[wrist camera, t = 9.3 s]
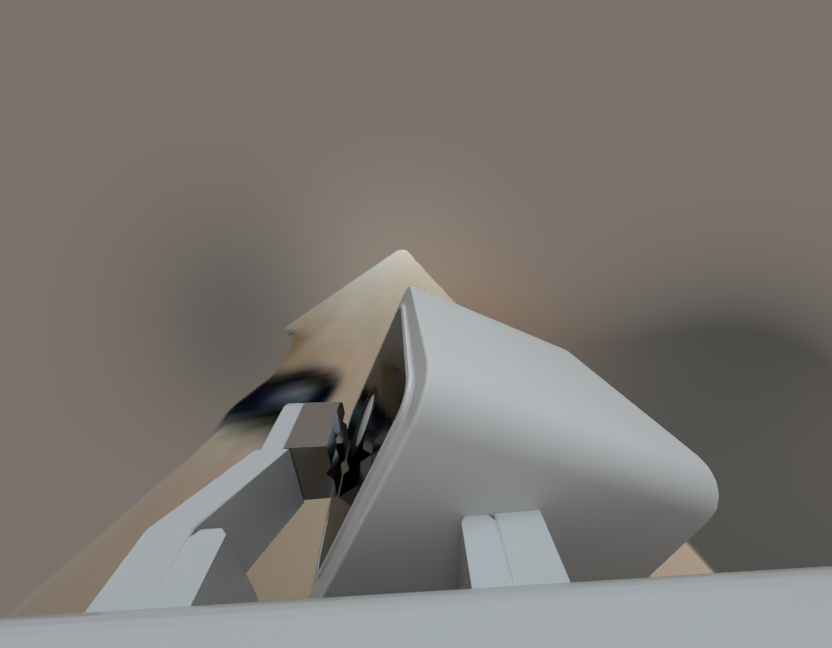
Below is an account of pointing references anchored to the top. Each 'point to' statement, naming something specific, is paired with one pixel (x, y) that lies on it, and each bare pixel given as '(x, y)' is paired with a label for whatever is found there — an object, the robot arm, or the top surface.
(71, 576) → the top surface
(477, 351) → the security camera
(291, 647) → the robot arm
